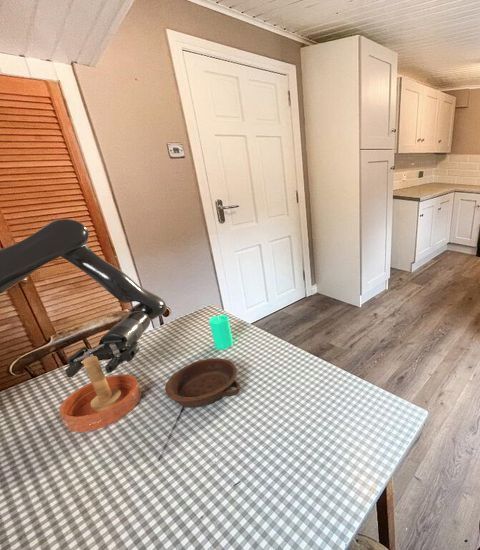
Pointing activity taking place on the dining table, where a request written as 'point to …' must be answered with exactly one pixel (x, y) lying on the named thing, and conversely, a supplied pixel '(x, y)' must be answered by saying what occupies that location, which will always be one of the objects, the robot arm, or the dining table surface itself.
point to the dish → (203, 382)
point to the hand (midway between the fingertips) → (88, 372)
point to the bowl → (84, 419)
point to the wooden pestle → (100, 386)
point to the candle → (221, 331)
